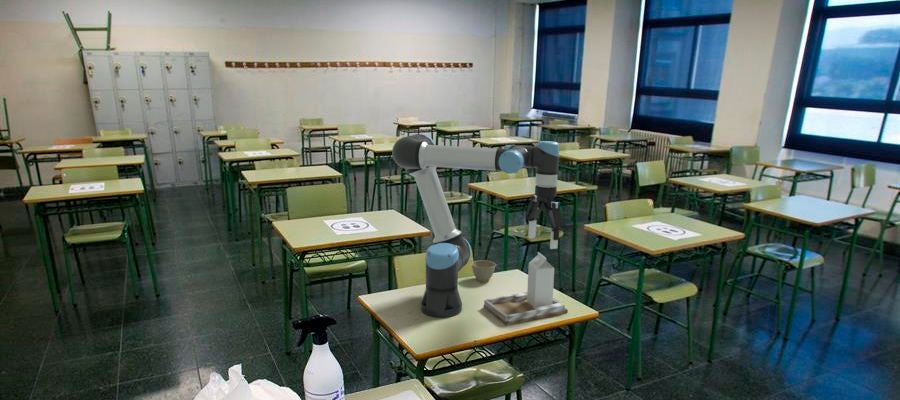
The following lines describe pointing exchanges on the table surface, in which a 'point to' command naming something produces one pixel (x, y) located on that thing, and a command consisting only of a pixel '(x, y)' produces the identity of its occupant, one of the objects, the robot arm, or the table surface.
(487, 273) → the flower pot
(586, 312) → the table surface
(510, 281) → the table surface
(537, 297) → the milk carton
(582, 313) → the table surface
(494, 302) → the divided compartment tray
